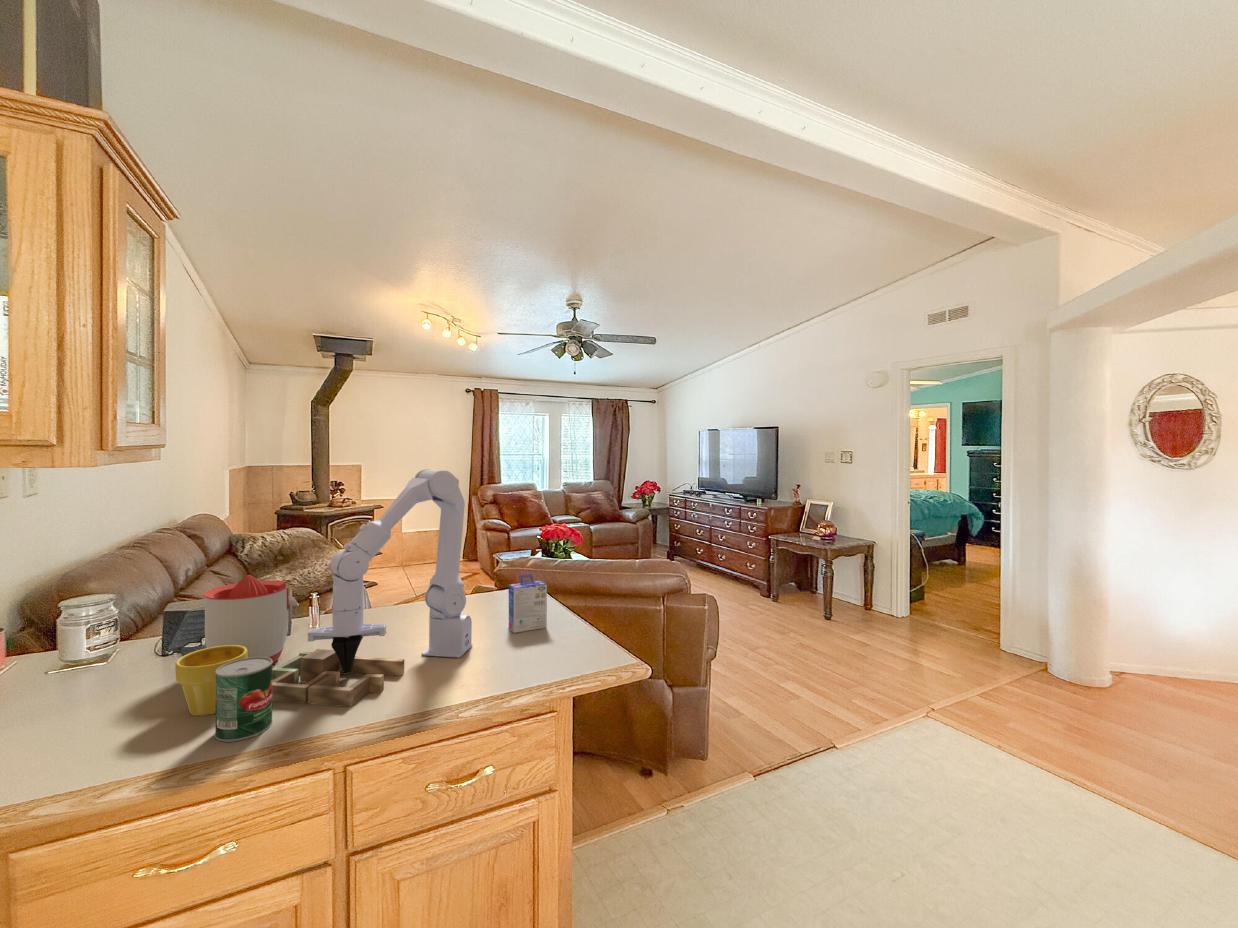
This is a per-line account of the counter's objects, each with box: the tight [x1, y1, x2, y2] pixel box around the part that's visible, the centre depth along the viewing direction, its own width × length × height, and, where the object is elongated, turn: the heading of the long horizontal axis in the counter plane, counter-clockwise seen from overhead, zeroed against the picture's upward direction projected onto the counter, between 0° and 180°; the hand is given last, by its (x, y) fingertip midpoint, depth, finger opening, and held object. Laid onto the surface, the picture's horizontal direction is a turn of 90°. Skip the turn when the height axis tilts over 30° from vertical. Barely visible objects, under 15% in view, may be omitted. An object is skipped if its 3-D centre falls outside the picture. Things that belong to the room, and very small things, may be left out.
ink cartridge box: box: [507, 573, 548, 634], centre depth 139 cm, size 10×6×14 cm, turn 120°
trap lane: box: [272, 650, 405, 708], centre depth 103 cm, size 24×15×3 cm, turn 84°
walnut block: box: [299, 648, 340, 683], centre depth 107 cm, size 5×5×5 cm
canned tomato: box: [214, 657, 274, 743], centre depth 86 cm, size 8×8×11 cm
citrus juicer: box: [203, 574, 299, 664], centre depth 113 cm, size 16×17×20 cm
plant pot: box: [174, 645, 248, 717], centre depth 93 cm, size 10×10×10 cm
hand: (347, 671), depth 106 cm, fingers closed
